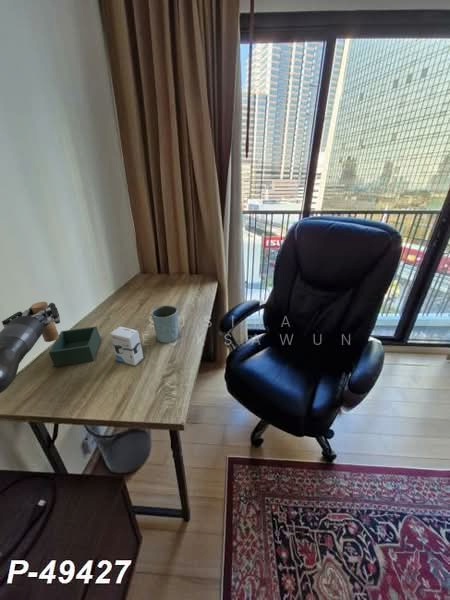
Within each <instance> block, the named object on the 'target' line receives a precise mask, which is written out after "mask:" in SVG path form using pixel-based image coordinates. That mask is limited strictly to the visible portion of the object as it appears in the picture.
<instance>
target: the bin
mask: <svg viewBox="0 0 450 600" xmlns="http://www.w3.org/2000/svg"><path fill="white" fill-rule="evenodd" d="M58 334H59V338H58V339H56V340H54V343H53V345H52V347H51V348H50V349H49V351H48V354H49V357H50V359H51V362H52V364H53V367H54V368H56V367H63V366H69V365H75V364H82V363H87V362H88V363H89V362H94V360H95V357H96V355H97V352H98V348H99V345H100V342H101V337H100V333H99V330H98V326H89V327H82V328H81V327H80V328H73V329H66V330H61V331H60V333H58Z"/></svg>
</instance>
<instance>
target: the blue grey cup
mask: <svg viewBox="0 0 450 600" xmlns="http://www.w3.org/2000/svg"><path fill="white" fill-rule="evenodd" d="M178 312H179V311H178V307H176V306H174V305H161V306H160V305H159V306H157V307H155V308H153V309H152V310H151V312H150V315H151V319H152V322H153V326H154V331H155V335H156V339H157V340H158V342H160V343H163V344H168V343H169V344H170V343H173V342H174V341H176V340H177V339H178V338H179V327H178V326H179V321H178Z"/></svg>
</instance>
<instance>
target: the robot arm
mask: <svg viewBox="0 0 450 600" xmlns="http://www.w3.org/2000/svg"><path fill="white" fill-rule="evenodd" d="M47 313H48V314H47ZM51 322H54V323H55V325H58V324H60V323H61V319H60V313H59V310H58V307H57V306H56V303H54V302H49V304H48V307H47V308H46V309H45V310H41V311H39V312H38V313H37V314H34V313H33V311H32V308H31V306H30V307H29V308H28V309H26V310H24V311H23V312H22V311H17V312H15V313H13V314H12V315H10V316H9V317H7V318H5V319H4V320H2V321H1V324H2V326H3V328H2V329H1V331H0V394H2V393H3V392H4V391H5V390H7V389H8V388H9V387H10V385H11V384H12V383H13V382H14V381H15V379H16V376H17V373H18V370H19V366H20V363H22V361H23V359H24V358H25V357H26V355H27V354H28V353H29V352H31V350H32V349H33V347H34V346H35V345H36V343H38V340H39V339H40V338H41V336H42V333H43V329H44V327H45V326H47V325H48V324H49V323H51Z"/></svg>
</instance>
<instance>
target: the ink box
mask: <svg viewBox="0 0 450 600" xmlns="http://www.w3.org/2000/svg"><path fill="white" fill-rule="evenodd" d="M109 336H110V340H111V344H112V348H113V352H114V355H115V360H116V361H117V362H121V363H125V364H128V365H131V366H134V367H135V366H136V365H138V364H139V362H141V361H142V360H143V359H144V354H143V353H144V352H143V348H142V344H141V343H142V342H141V339H140V333H139V331H138V330H137V329H132V328H129V327H124V326H118V327H117V328H115V329H114V330H112V331H111V332H110V333H109Z"/></svg>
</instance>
